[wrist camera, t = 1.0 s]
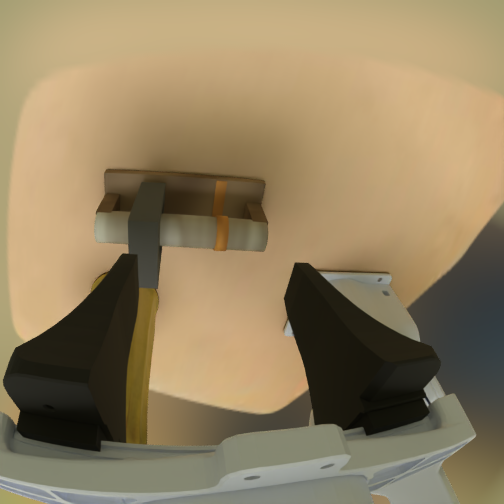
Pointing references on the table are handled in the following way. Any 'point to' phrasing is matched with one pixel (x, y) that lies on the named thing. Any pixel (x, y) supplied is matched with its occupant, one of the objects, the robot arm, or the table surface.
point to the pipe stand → (188, 210)
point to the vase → (139, 365)
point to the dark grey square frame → (147, 232)
